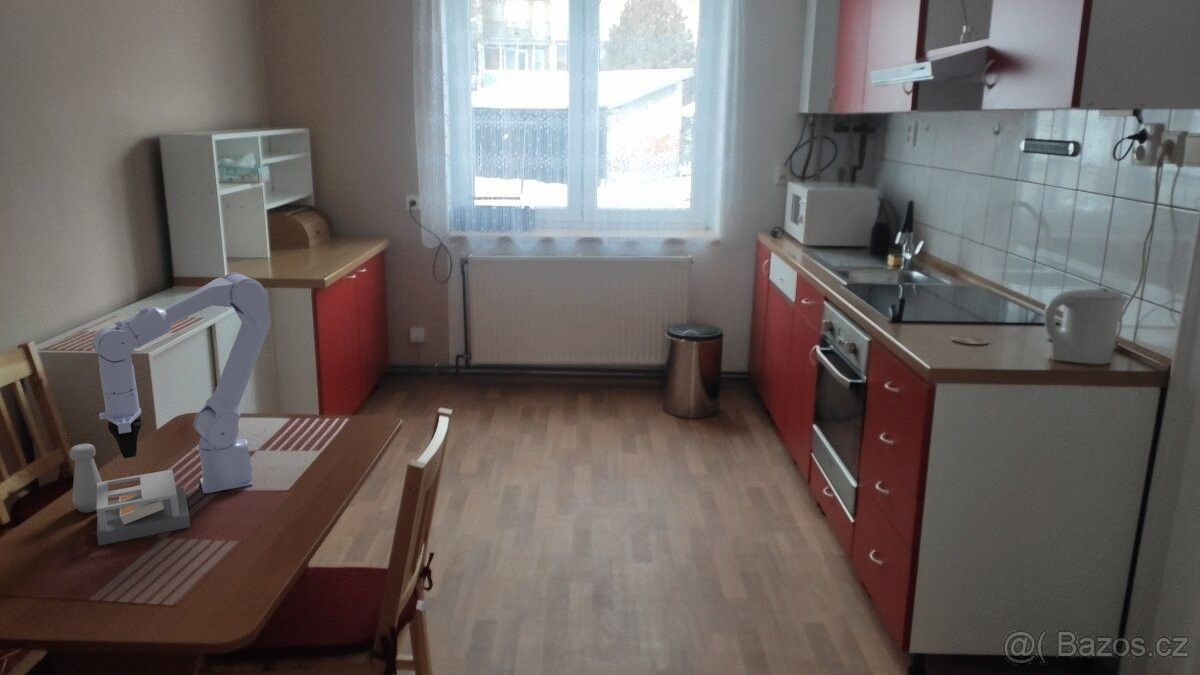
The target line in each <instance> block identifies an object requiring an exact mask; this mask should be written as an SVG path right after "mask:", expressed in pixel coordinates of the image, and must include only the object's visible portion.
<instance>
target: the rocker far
mask: <svg viewBox="0 0 1200 675" xmlns="http://www.w3.org/2000/svg"><path fill="white" fill-rule="evenodd" d="M135 486H141V483H140V484H138V485H134V486H133V487H135ZM141 497H142V494H141V493H135V494H130V495H124V496H119V497H118V499H119V502H120V503H122V502H127V501H133V500H136V499H138V498H141Z"/></svg>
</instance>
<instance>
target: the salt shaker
mask: <svg viewBox="0 0 1200 675" xmlns="http://www.w3.org/2000/svg"><path fill="white" fill-rule="evenodd" d="M95 456H96V447H95V446H94V445H93V444H91V443H80V444H76V445H73V446H72V447H71V448H70V449H69V457H70V459H71V461H74V471H73V472H74V473H73V474H74V475H73V484H72V499H71V500H72V502H73V504H74V506H75V507H76V508H77V510H78V511H79V512H80V513H86V514H87V513H93V512H97V482H103V481H102V478H101V474H100V473H99V470H98V467H97V464H96V462H95V459H94V457H95Z"/></svg>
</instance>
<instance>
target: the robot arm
mask: <svg viewBox="0 0 1200 675" xmlns="http://www.w3.org/2000/svg"><path fill="white" fill-rule="evenodd" d="M269 296H270V295H269V293H268V292H267V290H266V289H265V288H264V286H263V285H262V283H261V282H259V281H258V280H257V279H253V278H250V277H248V276H246V275H245V274H243V273H241V272H235V271H234V272H230V273H227V274H225V275H224V276H223V277H218V278H215V279H213V280H212V281H209V282H208V283H207V284H205V285H203V286H201V287H199V288H198V289H196V290H194V291H192V292H191V293H188V294H187V295H185V296H183V297H182V298H180V299H178V300H176V301H174V302H173V303H170V304H169V305H167V306H165V307H158V306H151V307H147V306H143V307H141V308H139V312H138V313H136V314H135V315H132V316H130V317H128V318H126V319H124V320H120V319H119V320H117V321H115V322H114V324H115V325H114V326H105V327H104V326H103V327H101V328H100V329H99V330H97V331H96V334H95V335H94V336H93V340H92V342H91V346H92V348H93V350H95V352H97V353H98V365H99V367H98V368H99V370H98V371H99V377H100V384H101V388H102V396H103V401H104V409H105V411H104V412H101V413H99V414H98V416H99V417H98V418H99V420H107V421H108V422H107V423H108V424H107V428H108V431H109V433H110V434H111V435H112V436H113V437H114V439H115V440H116V442H117V444H118V447H119V450H120V454H121V455H122V457H123V459H129V458H134V457H135V458H136V456H137V450H138V449H137V448H138V447H137V446H138V437H139V432H140V429H141V428H142V417H141V414H142V408H140V402H139V401H140V400H139V394H138V393H139V392H138V389H137V388H138V387H137V382H136V375H135V374H136V373H135V368H134V366H135V365H134V364H133V360H132V355H133V354H134V350H135V349H139V348H142V347H143V346H145V345H147V344H148V343H151V342H152V341H154V340H156V339H158V338H161V337H162V336H164V335H166V334H169V332H170V331H171V328H172V326H173V325H174V323H177V322H178V321H181V320H184V319H185V318H187V317H190V316H191V315H194V314H196V313H198V312H200V311H203V310H205V309H207V308H209V307H212V306H215V307H225V308H233V309H234V312H235V313H236V315H237V317H238V318H239V320H240V322H241V324H240V328H239V329H238V333H237V334H236V337H235V340H234V342H233V344H232V348H231V350H230V353H229V355H228V358H227V360H226V363H225V365H224V368H223V369H222V373H221V376H220V378H219V381H218V382H217V385H216V387H215V391H214V393H213V394H212V395H211V396H210V397H209V398H207V400H206V401H205V403H204V406H203V408H202V409H200V410H199V411H198V412H197V413H196V415H194V420H193V428H194V429H195V431H196V433H197V434H199V435H200V439H199V442H198V450H199V457H200V466H201V467H200V468H201V473H202V474H201V475H202V477H201V478H199V482H200V484H201V488H202V493H203V494H205V495H206V494H211V493H217V492H220V491H225V490H226V491H228V490H231V489H237V488H242V487H247V486H253V484H254V482H253V474H252V473H253V468H252V464H251V456H250V449H249V444H248V441H247V439H246V438H241V439H240V438H239V439H238V436H239V421H240V418H241V407H240V403H241V400H242V398H243V395H244V393H245V390H246V388H247V386H248V382H249V380H250V379H251V375H252V374H253V370H254V368H255V365H256V363H257V360H258V357H259V356H260V353H261V350H262V349H263V348H262V347H263V346H264V342H265V339H266V337H267V334H268V332H269V330H270V327H271V323H272V321H271V320H272V319H271V315H270V314H271V313H270V309H269V307H270V306H269V302H268V300H269Z"/></svg>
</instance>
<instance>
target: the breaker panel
mask: <svg viewBox="0 0 1200 675" xmlns="http://www.w3.org/2000/svg"><path fill="white" fill-rule="evenodd" d="M173 471H174V470H173V469H166V470H160V471H156V472H149V473H144V474H137V475H134V476H133V475H132V476H126V477H121V478H116V479H110V480H103V481H102V482H97V511H96V513H97V516H96V518H97V519H96V536H97V542H98V546H104V545H109V544H115V543H119V542H124V541H127V540H133V539H138V538H143V537H149V536H153V535H159V534H163V533H167V532H173V531H178V530H182V529H188V528H191V523H190V522H191V521H190V513H189V508H188V503H187V498H186V494H185V489H184V487H178V488H176V481H175V476H174V472H173ZM135 481H140V482H139V483H140V484H141V486H137V485H134V486H135V487H134V486H131V487H125V488H119V489H114V490H109V486H112V485H118V484H123V483H129V482H135ZM135 493H141V494H142V499H138V500H133V501H127V502H122V503H120V502H119V496H124V495H130V494H135ZM112 498H118V499H114V500H109V499H112ZM160 500H163V504H164V509H162V510H160V511H157V512H155V513H152V514H150V515H147V516H145V517H142V518H140V519H137V520H135V521H132V522H130V523H127V524H125V525H124V524H123V522H122V520H121V518H120V508H123V507H128V506H133V505H138V504H144V503H149V502H154V501H160Z"/></svg>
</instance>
